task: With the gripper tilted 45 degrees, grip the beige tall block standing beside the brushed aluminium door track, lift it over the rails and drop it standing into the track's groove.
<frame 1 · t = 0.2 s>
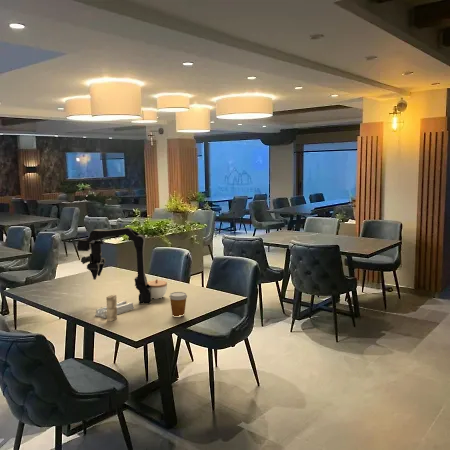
hand: (96, 277, 269), 15 cm above the table, tool pointing down, fingers open, 9 cm apart
beige tall block: (112, 319, 241), on the table
disposable coffee cup: (178, 316, 247), on the table
lidded bowl: (156, 297, 281), on the table, touching arm
door track: (115, 312, 253), on the table
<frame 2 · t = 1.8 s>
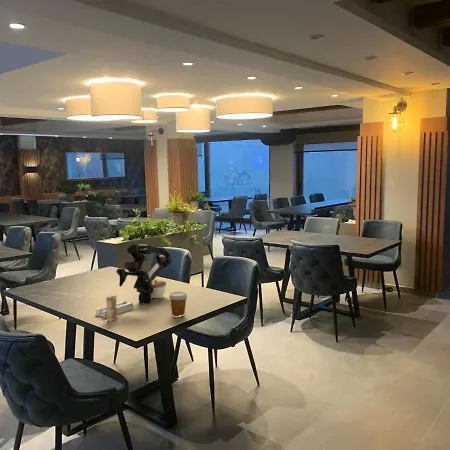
hand: (126, 287, 253), 13 cm above the table, tool tilted 45°, fingers open, 9 cm apart
lidded bowl: (155, 297, 282), on the table
everything else where it was.
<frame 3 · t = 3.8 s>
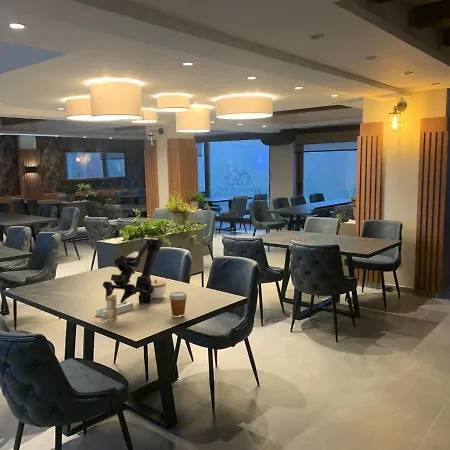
hand: (113, 301, 241), 9 cm above the table, tool tilted 45°, fingers open, 9 cm apart
nothing on the table moved.
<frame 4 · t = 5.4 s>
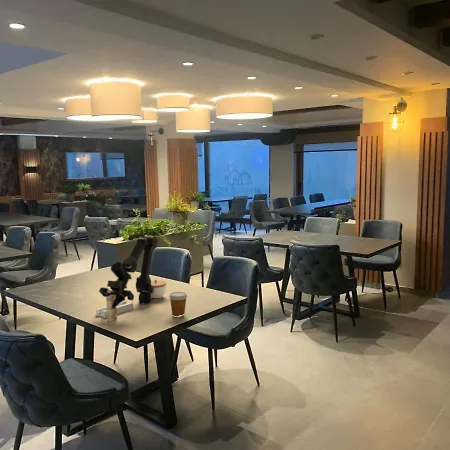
hand: (110, 307, 239), 7 cm above the table, tool tilted 45°, fingers closed on beige tall block, 3 cm apart
beige tall block: (112, 319, 241), on the table, touching gripper
everything else where it was.
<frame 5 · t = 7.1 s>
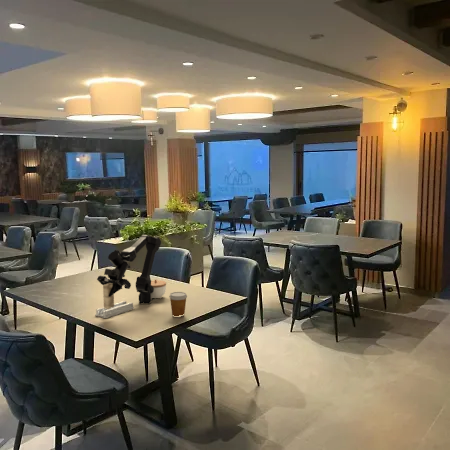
hand: (106, 296, 240), 12 cm above the table, tool tilted 45°, fingers closed on beige tall block, 3 cm apart
beige tall block: (109, 307, 242), point 6 cm above the table, touching gripper
everything else where it was.
when the fingers open (9 cm above the table, at t = 8.8 s): beige tall block drops 1 cm, resting on door track.
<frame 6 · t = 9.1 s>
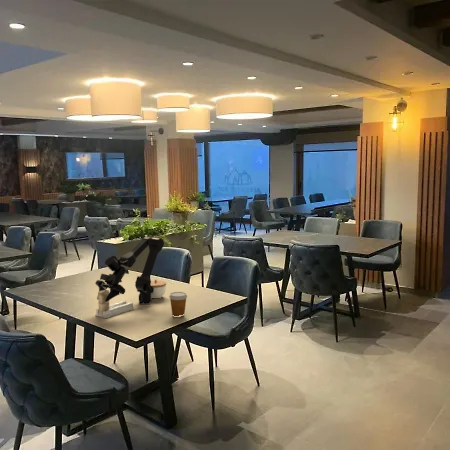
hand: (101, 300, 245), 9 cm above the table, tool tilted 45°, fingers open, 6 cm apart
beige tall block: (104, 313, 247), point 1 cm above the table, touching door track
everything else where it was.
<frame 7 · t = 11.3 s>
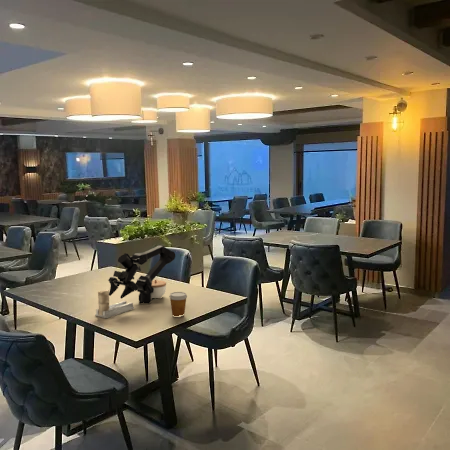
hand: (115, 296, 252), 9 cm above the table, tool tilted 45°, fingers open, 9 cm apart
nothing on the table moved.
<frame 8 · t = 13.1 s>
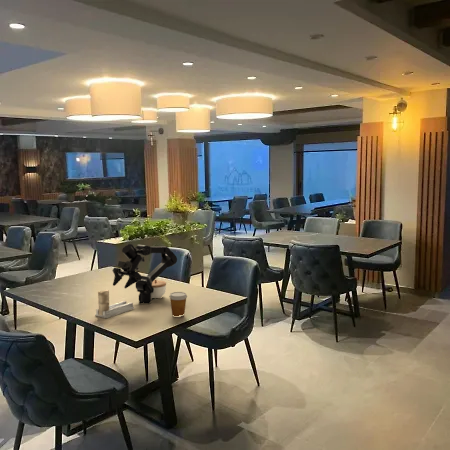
hand: (119, 286, 254), 14 cm above the table, tool tilted 45°, fingers open, 9 cm apart
nothing on the table moved.
at the end: beige tall block 0.0 cm from the target spot on the door track, point 1.0 cm above the door track's base; beige tall block tilted 0°; the gripper is holding nothing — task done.
